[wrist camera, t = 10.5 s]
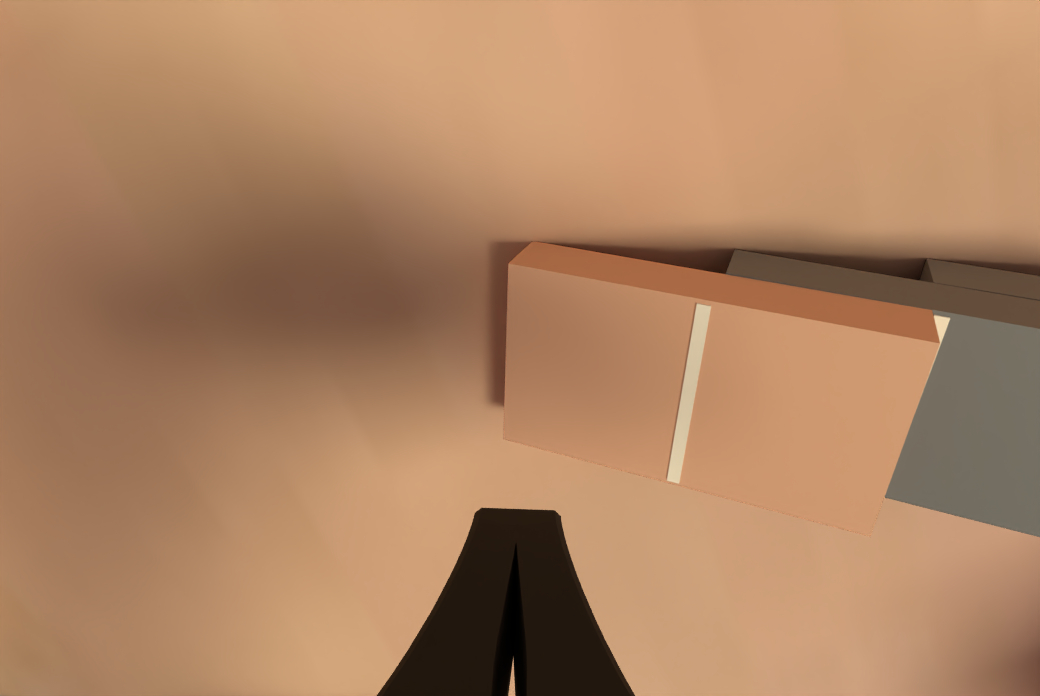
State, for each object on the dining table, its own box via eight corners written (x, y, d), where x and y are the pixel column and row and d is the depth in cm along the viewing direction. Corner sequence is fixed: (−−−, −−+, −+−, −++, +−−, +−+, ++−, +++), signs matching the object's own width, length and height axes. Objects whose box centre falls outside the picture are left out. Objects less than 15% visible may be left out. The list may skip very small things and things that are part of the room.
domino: (701, 415, 20) (1073, 504, 18) (691, 448, 19) (1093, 551, 16) (734, 248, 18) (1172, 322, 15) (725, 273, 17) (1205, 359, 14)
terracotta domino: (526, 407, 21) (868, 492, 18) (502, 440, 19) (870, 537, 16) (533, 240, 18) (931, 309, 15) (507, 264, 17) (940, 344, 14)
